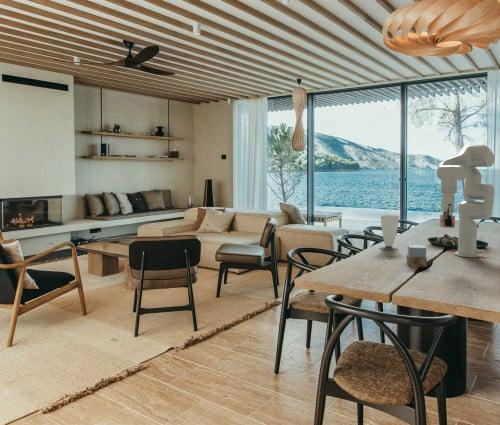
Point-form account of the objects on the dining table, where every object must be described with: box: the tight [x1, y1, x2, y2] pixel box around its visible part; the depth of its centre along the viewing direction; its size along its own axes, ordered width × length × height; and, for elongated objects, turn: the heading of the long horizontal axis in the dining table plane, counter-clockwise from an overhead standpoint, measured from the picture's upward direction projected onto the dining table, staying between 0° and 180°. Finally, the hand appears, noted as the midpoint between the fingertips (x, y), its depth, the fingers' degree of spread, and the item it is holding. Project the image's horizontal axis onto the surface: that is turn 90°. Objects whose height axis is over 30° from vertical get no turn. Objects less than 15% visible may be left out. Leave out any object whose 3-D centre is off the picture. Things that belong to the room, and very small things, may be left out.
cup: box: [379, 213, 400, 252], centre depth 281 cm, size 12×12×22 cm
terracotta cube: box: [439, 213, 456, 229], centre depth 232 cm, size 6×6×6 cm
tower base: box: [406, 253, 428, 268], centre depth 237 cm, size 9×9×5 cm
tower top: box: [407, 244, 427, 258], centre depth 237 cm, size 8×8×5 cm
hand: (447, 225), depth 232 cm, fingers closed on terracotta cube, 6 cm apart
